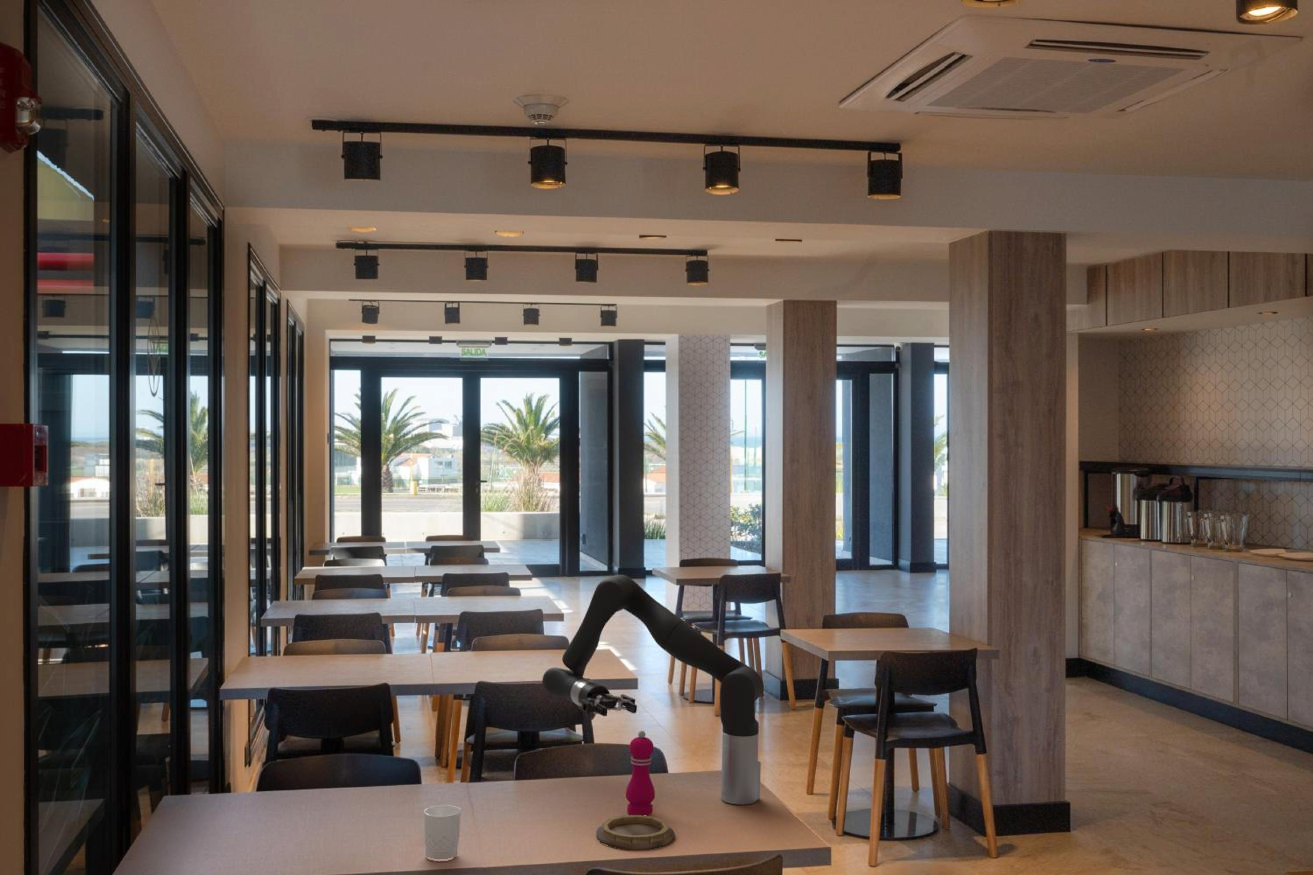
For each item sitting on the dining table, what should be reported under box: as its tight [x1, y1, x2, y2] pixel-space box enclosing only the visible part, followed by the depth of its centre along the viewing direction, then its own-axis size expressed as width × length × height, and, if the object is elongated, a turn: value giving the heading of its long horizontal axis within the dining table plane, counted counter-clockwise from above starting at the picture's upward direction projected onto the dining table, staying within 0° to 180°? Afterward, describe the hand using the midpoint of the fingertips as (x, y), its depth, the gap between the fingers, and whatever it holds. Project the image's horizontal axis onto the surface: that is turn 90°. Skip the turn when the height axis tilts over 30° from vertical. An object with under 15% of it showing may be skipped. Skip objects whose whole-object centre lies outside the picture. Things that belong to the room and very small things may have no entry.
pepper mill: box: [625, 730, 656, 816], centre depth 288 cm, size 7×7×20 cm
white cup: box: [423, 804, 462, 859], centre depth 255 cm, size 8×8×10 cm
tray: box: [595, 814, 675, 851], centre depth 270 cm, size 18×18×2 cm
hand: (620, 710), depth 297 cm, fingers open, 8 cm apart
